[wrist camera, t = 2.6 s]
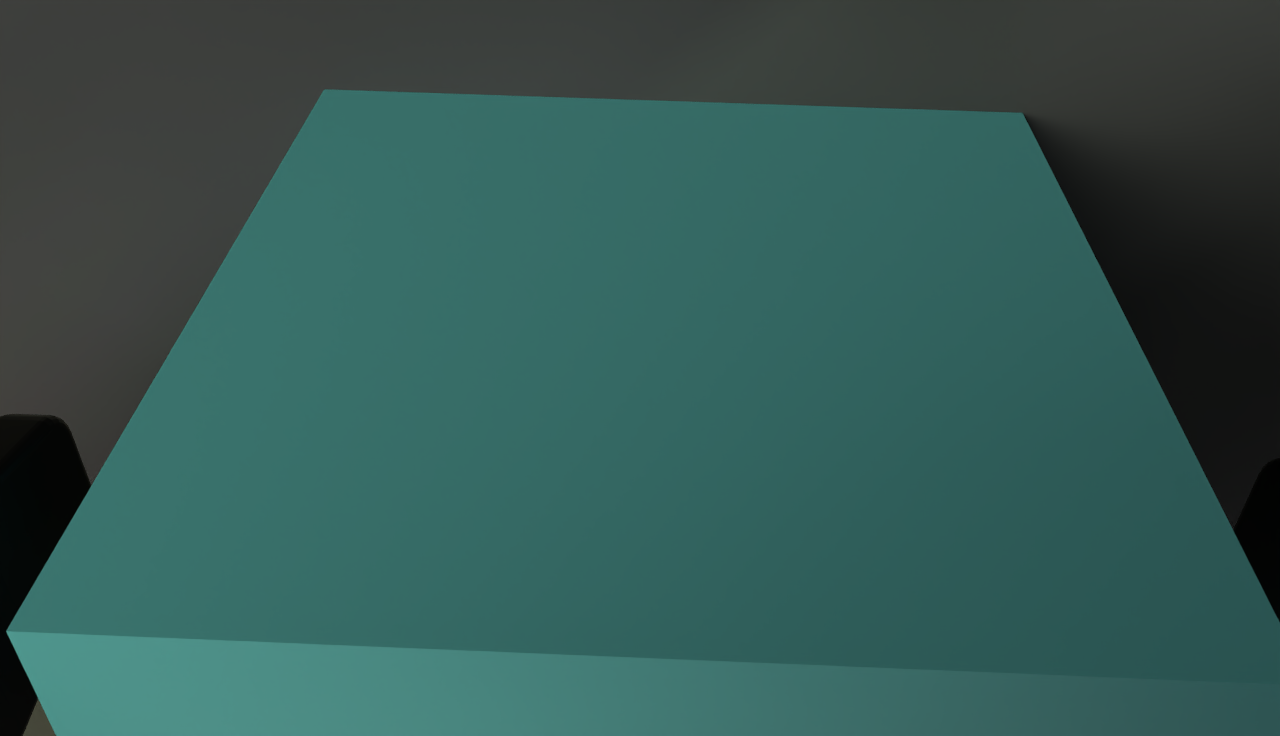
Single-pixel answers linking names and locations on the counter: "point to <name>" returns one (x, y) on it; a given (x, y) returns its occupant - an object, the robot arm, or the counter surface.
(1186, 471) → the teal cube
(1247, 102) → the counter surface
